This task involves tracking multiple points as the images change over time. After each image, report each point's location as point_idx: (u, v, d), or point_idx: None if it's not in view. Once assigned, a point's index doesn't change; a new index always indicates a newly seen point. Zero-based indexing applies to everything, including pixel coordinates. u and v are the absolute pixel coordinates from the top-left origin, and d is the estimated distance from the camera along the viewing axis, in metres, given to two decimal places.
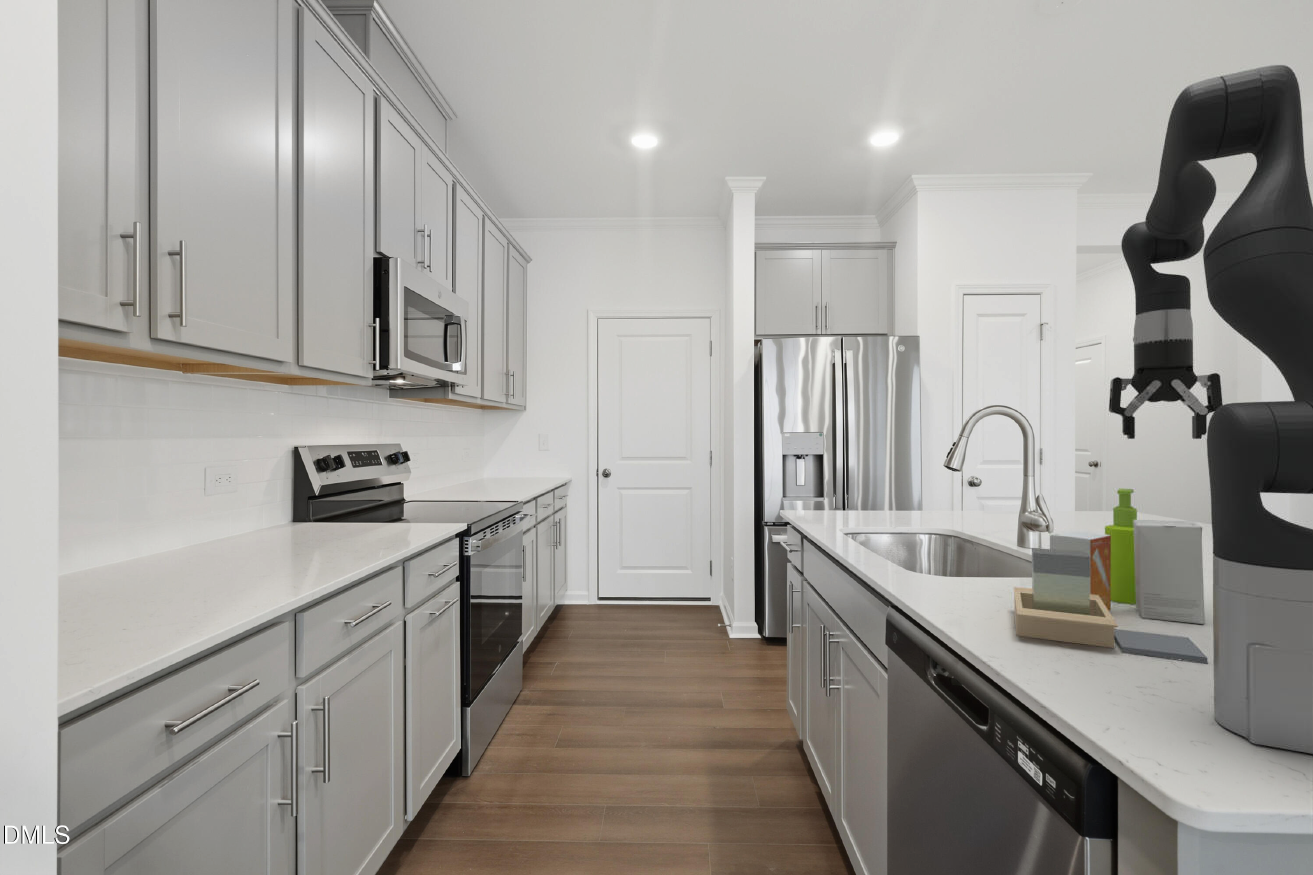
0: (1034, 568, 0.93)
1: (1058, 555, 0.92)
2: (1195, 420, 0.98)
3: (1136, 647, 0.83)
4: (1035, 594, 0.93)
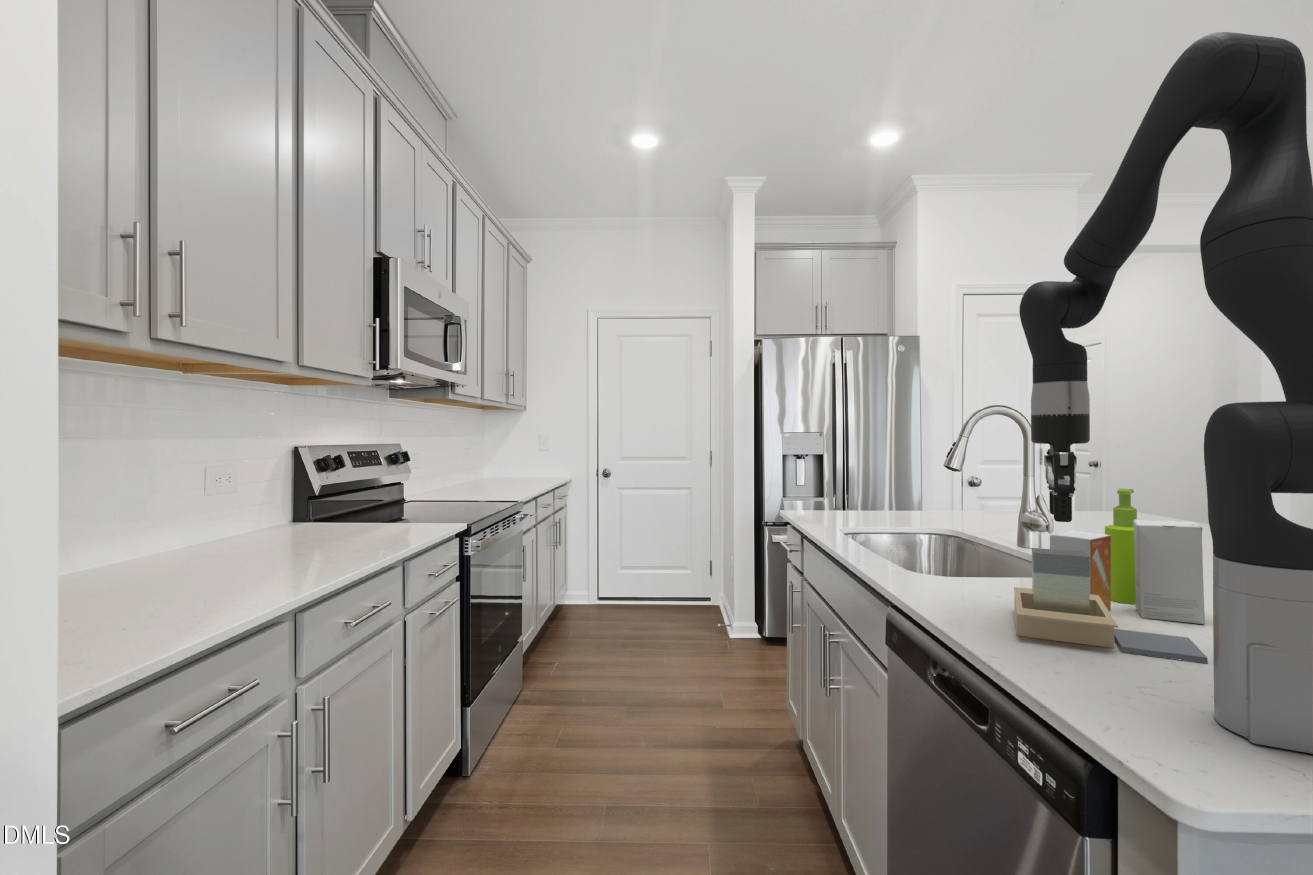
0: (1034, 568, 0.93)
1: (1058, 555, 0.92)
2: None
3: (1136, 647, 0.83)
4: (1035, 594, 0.93)
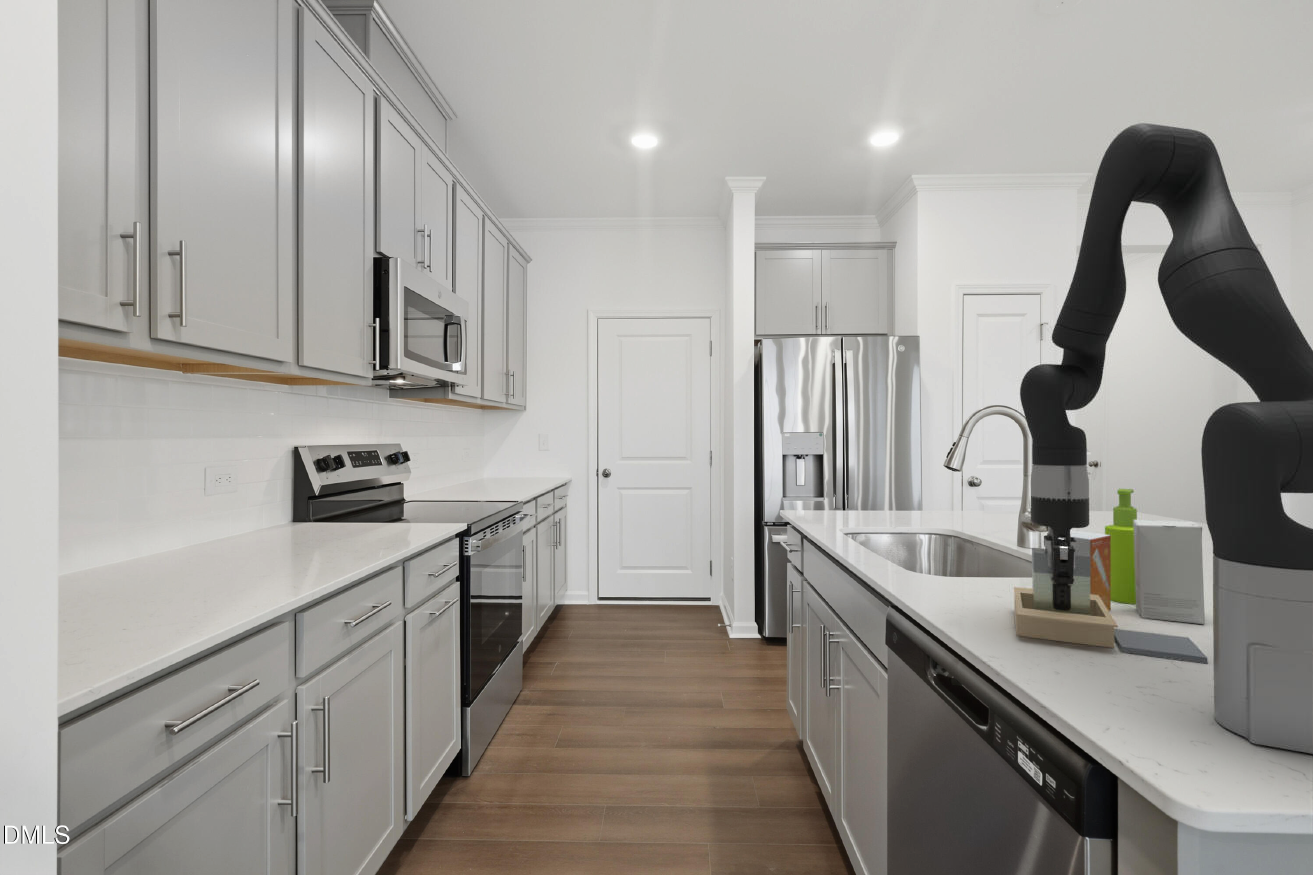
0: (1034, 568, 0.93)
1: None
2: None
3: (1136, 647, 0.83)
4: (1035, 594, 0.93)
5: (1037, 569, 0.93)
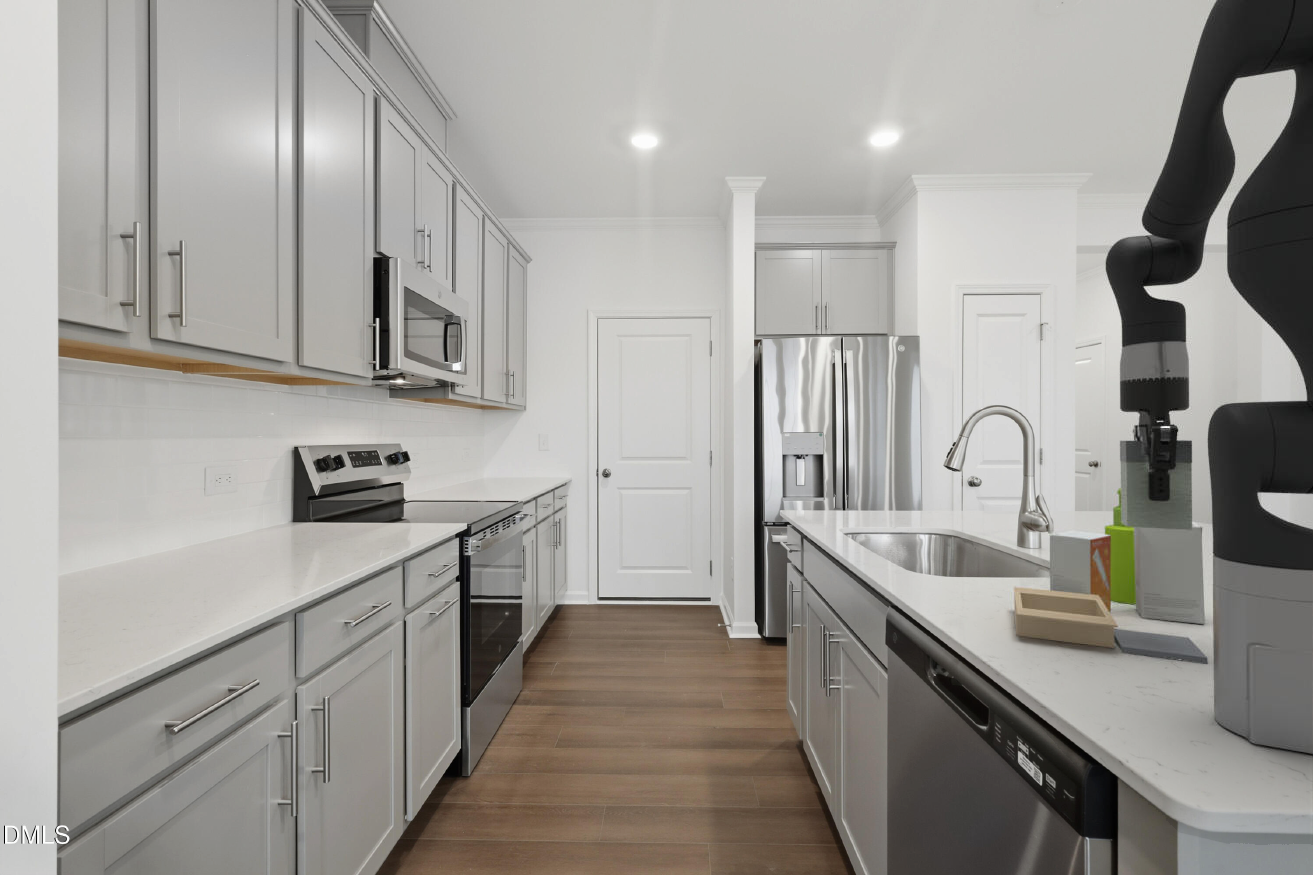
0: (1127, 457, 0.85)
1: None
2: None
3: (1136, 647, 0.83)
4: (1128, 486, 0.85)
5: (1130, 458, 0.85)
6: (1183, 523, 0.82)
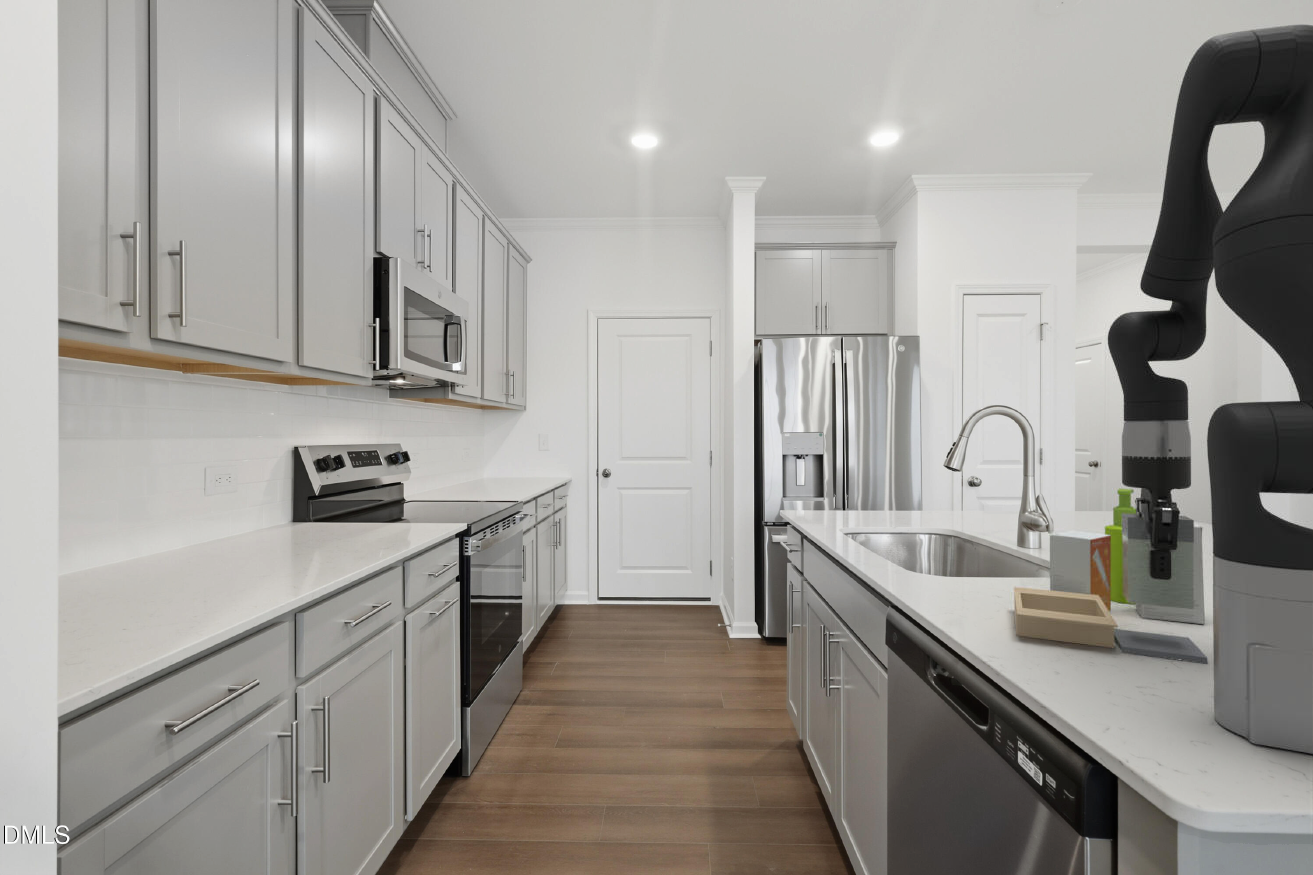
0: (1129, 534, 0.85)
1: None
2: None
3: (1136, 647, 0.83)
4: (1130, 562, 0.85)
5: (1132, 535, 0.85)
6: (1184, 602, 0.82)
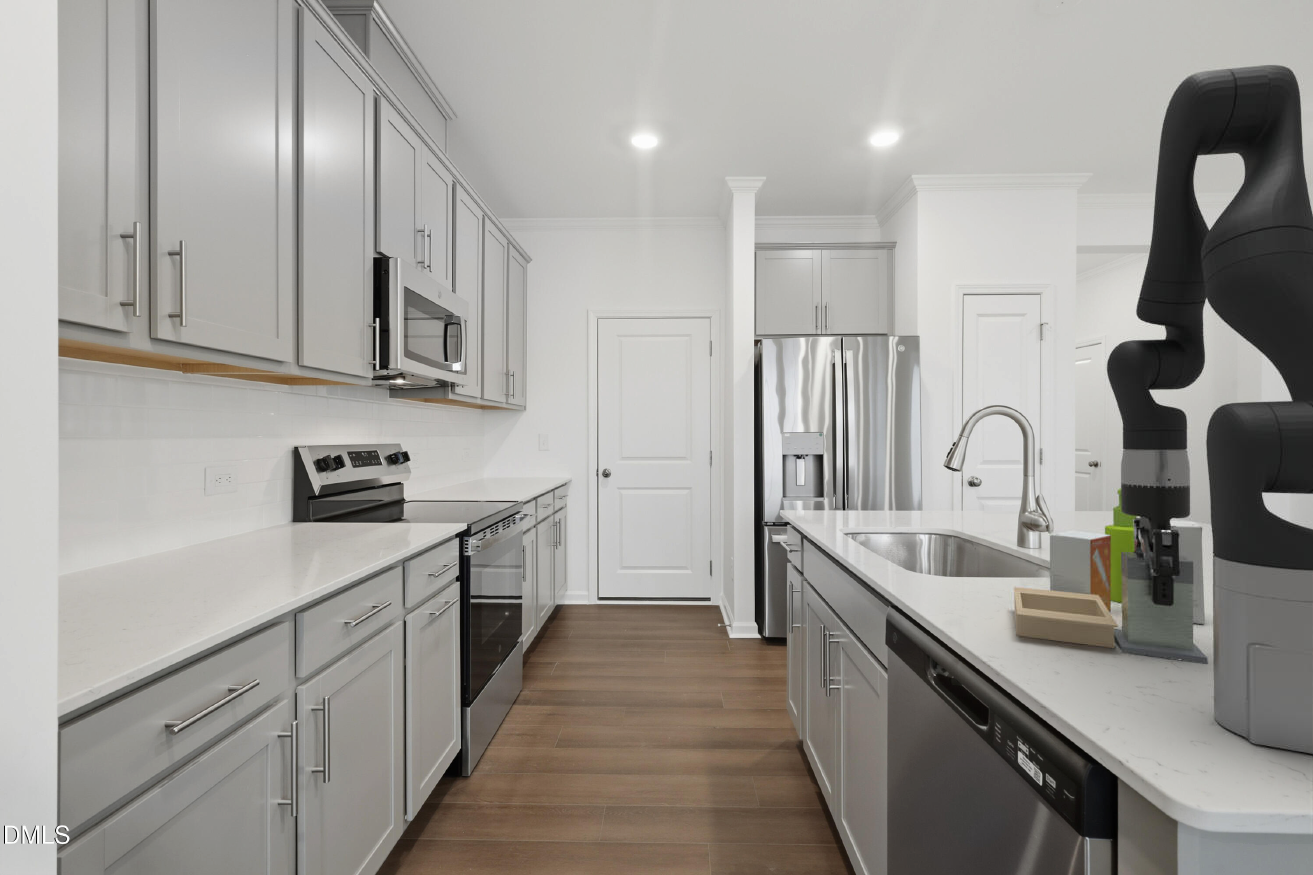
0: (1128, 574, 0.85)
1: None
2: None
3: (1136, 647, 0.83)
4: (1129, 602, 0.85)
5: (1132, 575, 0.85)
6: (1184, 644, 0.82)
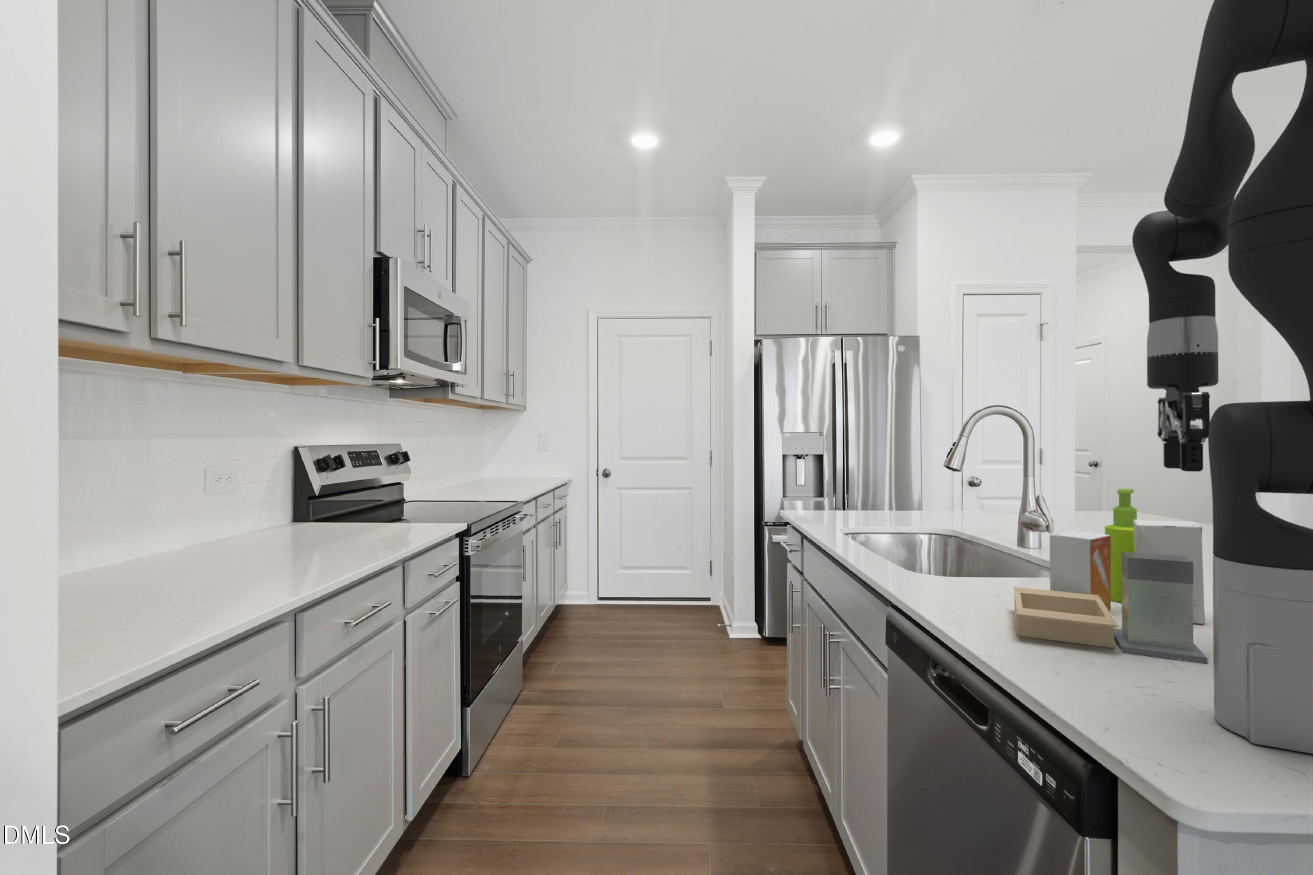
0: (1128, 574, 0.85)
1: (1156, 560, 0.84)
2: None
3: (1136, 647, 0.83)
4: (1129, 602, 0.85)
5: (1132, 575, 0.85)
6: (1184, 644, 0.82)
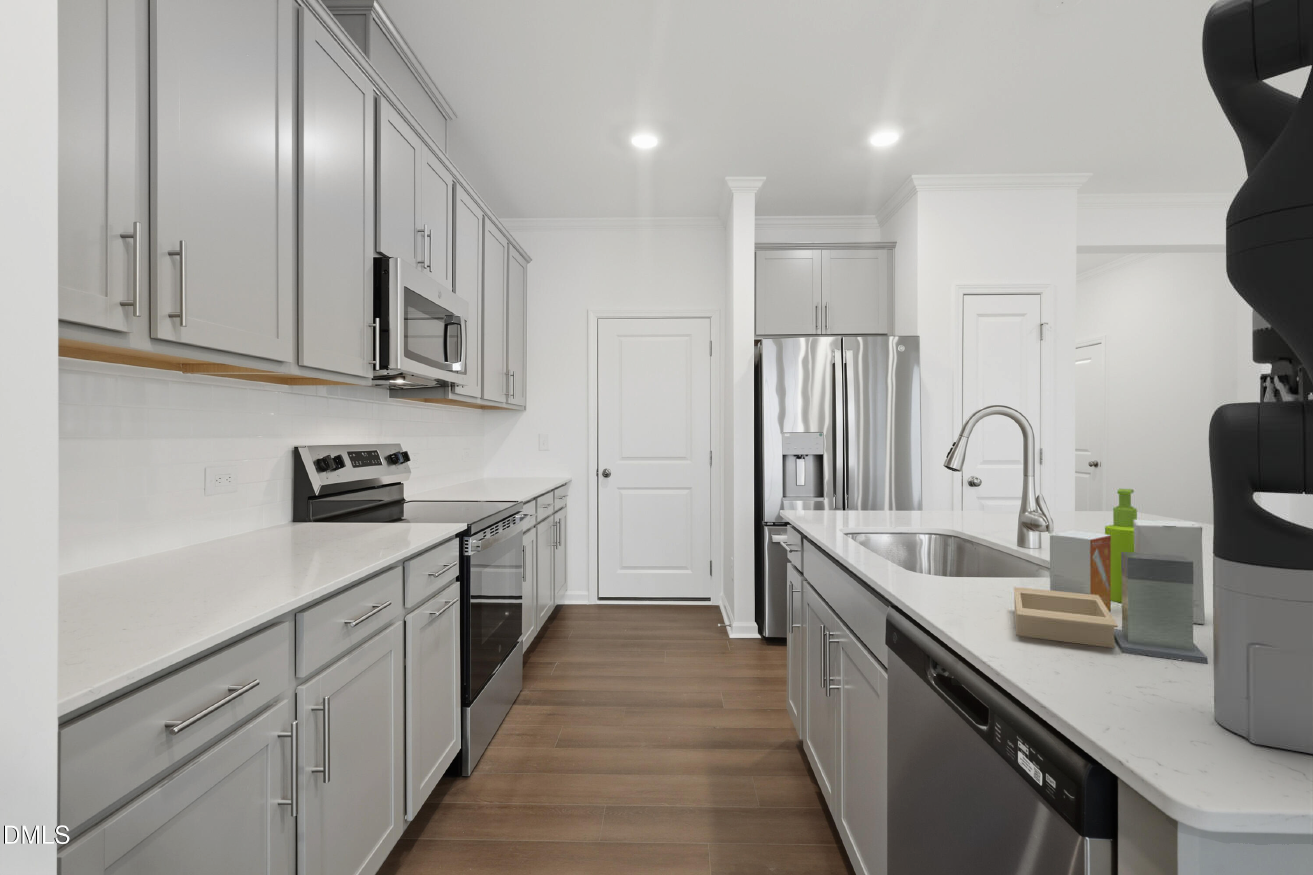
0: (1128, 574, 0.85)
1: (1156, 560, 0.84)
2: None
3: (1136, 647, 0.83)
4: (1129, 602, 0.85)
5: (1132, 575, 0.85)
6: (1184, 644, 0.82)
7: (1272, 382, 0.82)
